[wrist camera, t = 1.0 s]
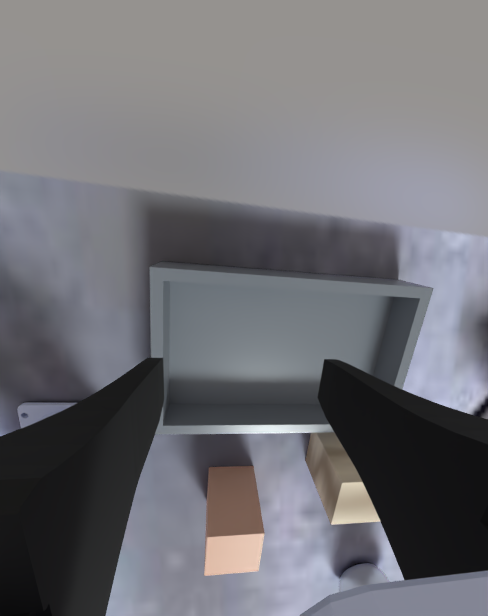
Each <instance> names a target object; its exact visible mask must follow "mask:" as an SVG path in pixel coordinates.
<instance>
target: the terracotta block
mask: <svg viewBox="0 0 488 616" xmlns="http://www.w3.org/2000/svg"><path fill="white" fill-rule="evenodd" d="M263 539H264V528H263V522H262V516H261V510H260V503H259V497H258V491H257V485H256V479H255V473H254V467H253V466H232V467H209V475H208V490H207V510H206V541H205V572H204V576H208V575H220V574H231V573H242V572H254V571H258V570H259V564H260V558H261V552H262V545H263Z"/></svg>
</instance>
